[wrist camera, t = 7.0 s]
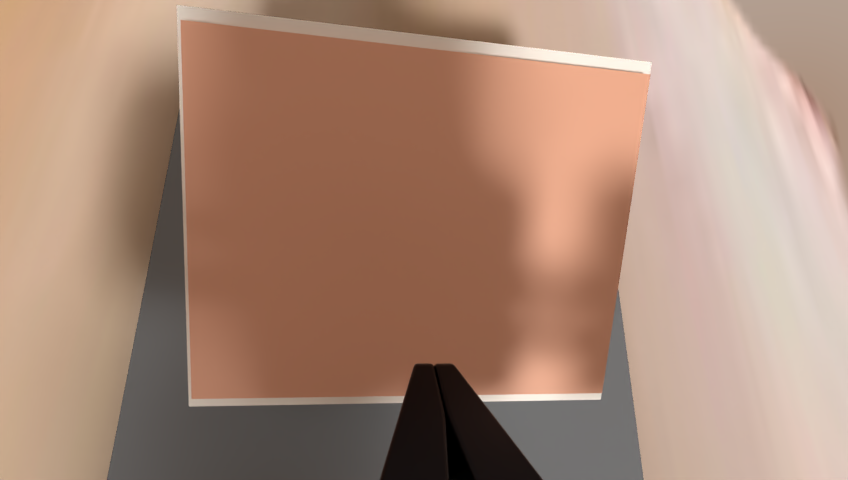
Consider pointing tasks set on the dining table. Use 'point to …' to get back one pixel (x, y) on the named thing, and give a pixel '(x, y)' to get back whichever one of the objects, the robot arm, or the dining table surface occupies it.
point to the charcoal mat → (323, 405)
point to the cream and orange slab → (398, 210)
